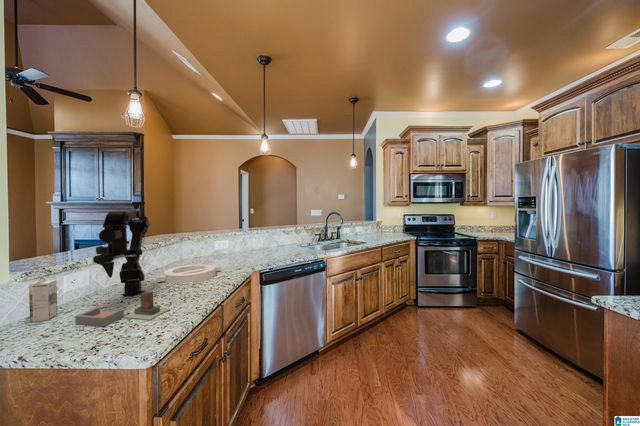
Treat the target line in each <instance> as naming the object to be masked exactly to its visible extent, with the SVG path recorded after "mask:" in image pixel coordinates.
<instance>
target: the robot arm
mask: <svg viewBox="0 0 640 426" xmlns="http://www.w3.org/2000/svg"><path fill="white" fill-rule="evenodd" d="M102 228H104V229H102V230H100V232H99V234H98V238H99V240H100V241H101V242H103V243H106V244H107V246H103V245H99V246H97V247H95V253H96V255H95V256H94V257H93V258H92V260H93V261H92V262H93V263H94V264H97V265H100V266H101V267H102V268H103V269H104V272H105V273H106V275H107V276H108V278H110V279H111V278H112V277H113V274H114V267H115V261H114V260H115V259H118V258H122V257H124V258H125V260H126V262H123V263H122V264H121V268H120V271H119V280H120V283H121V284H124V286H123V287H124V289H123V291H124V293H122V296H128V297H129V296H131V297H134V296H137V295H140V294H142V293H144V292H145V290H142V282H143V281H145V273H144V271H143V270H142V266H141V264H140V257H141V255H142V256H143V250H142V244H143V238H144V236H145V235H146V234H147V233H148V230H149V228H150V221H149V219H148V217H147V216H146V215H144V214H143V213H142V212H141V210H138V209H136V210H133V209H131V210H128V211H126V210H121V211H119V210H118V211H117V210H116V211H108V212H107V214H106V215H105V218H104V221H103V224H102ZM128 228H129V231H130V232H131V239H130V240H128V232H127V229H128ZM128 245H130V246H129V249H128Z"/></svg>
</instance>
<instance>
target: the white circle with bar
mask: <svg viewBox="0 0 640 426" xmlns="http://www.w3.org/2000/svg"><path fill="white" fill-rule="evenodd" d="M219 271H222V266H220V265H214V264H208V263H199V264H198V263H197V264H196V263H195V264H186V265H181V266H175V267H171V268H169V269H166V270H164V272H163V275H159V276H156V277H155V280H156V282H157V283H160V282H165V283H167V282H168V284H173V283H183V284H191V283H190V282H193V283H197V282H196V281H199V282H202V281H201V280H203V281H207V280H209V278H210V279H212V278H214V277H215V276H216V275H217V274H216V273H217V272H219ZM213 276H214V277H213ZM206 279H207V280H206Z"/></svg>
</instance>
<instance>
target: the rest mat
mask: <svg viewBox="0 0 640 426" xmlns="http://www.w3.org/2000/svg"><path fill="white" fill-rule="evenodd" d="M168 311H170V308H165V307H164V308H163V307H160V312H158V313H156V314H154V315H141V314H135V311H134V312H131V313H129V314H127V315H124V317H123V318H122V319H129V320H142V321H152V320H154V319H155V318H157V317H160V316H162V315H163V314H165V313H166V312H168Z"/></svg>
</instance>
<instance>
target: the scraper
mask: <svg viewBox="0 0 640 426" xmlns="http://www.w3.org/2000/svg"><path fill="white" fill-rule="evenodd" d="M139 295H140V306H139V307H136V308H134V312H135V314H141V315H154V314H156V313H158V312H160V308H161V306H159V305H158V306H157V305H155V304H154V291H144V292H142V293H139Z"/></svg>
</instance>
